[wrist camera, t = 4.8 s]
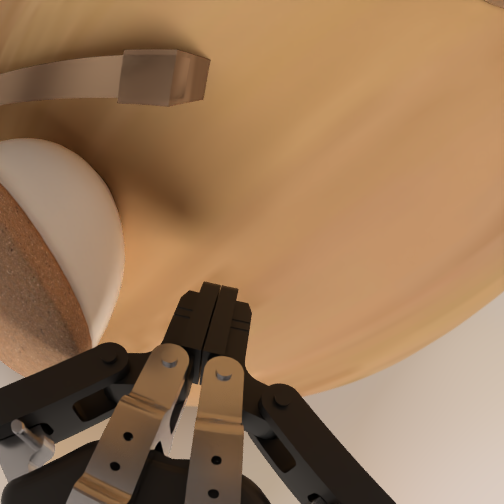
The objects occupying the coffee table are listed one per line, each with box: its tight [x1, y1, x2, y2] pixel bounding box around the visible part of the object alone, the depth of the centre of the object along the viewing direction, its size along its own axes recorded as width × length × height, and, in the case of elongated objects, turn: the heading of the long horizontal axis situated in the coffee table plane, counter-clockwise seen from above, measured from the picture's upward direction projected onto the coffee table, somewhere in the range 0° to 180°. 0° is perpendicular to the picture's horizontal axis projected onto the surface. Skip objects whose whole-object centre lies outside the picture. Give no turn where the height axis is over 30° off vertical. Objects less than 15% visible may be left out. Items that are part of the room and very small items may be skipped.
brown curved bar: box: [0, 49, 210, 107], centre depth 10 cm, size 24×2×4 cm, turn 79°
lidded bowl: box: [0, 138, 125, 377], centre depth 12 cm, size 13×13×11 cm
